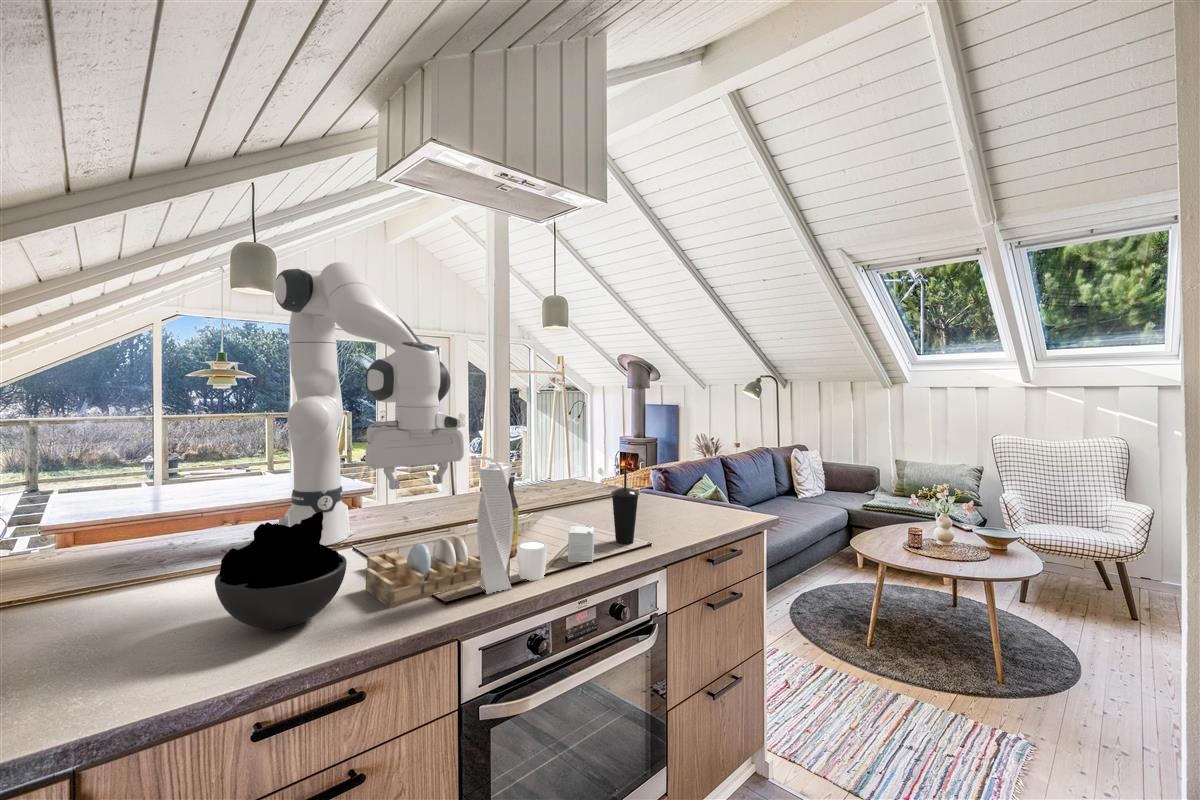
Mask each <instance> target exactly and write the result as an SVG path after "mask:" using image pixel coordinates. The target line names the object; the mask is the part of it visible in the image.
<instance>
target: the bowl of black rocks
mask: <svg viewBox="0 0 1200 800" xmlns="http://www.w3.org/2000/svg"><path fill="white" fill-rule="evenodd" d="M323 519H324V518H323V512H322V511H321V512H318V513H315V514H313V515H312V517H309V518H307V519H304V520H301V523H300V524H294V525H293V526H291V527H289V526H285V525H279V523H270V522H268V521H267V522H265V523H260V524H259V525H258V526H257V527H256V528H255V529H254V531H253V540H252V541H251V542H249V544H247V545H246V546H242V547H241V548H238V549H236V548H234V547H233V548H230V549H229V550H228V551H227V552H226V554H224V556H223V557H222V559H221V561H220V567H219V568H220V570H219V572H218V574H217V575H216V576H215V578H214V587H215V593H216V595H217V598H218V601H219V602H220V604H221V605H222V607H223V608H224V610H225V611H226V612H227V613H228V614H229V615H231V617H233V618H234V619H236V621H238V622H240V623H242V624H244V625H246V626H249V627H252V628H256V629H261V630H262V629H263V630H280V629H285V628H289V627H293V626H296V625H299V624H301V623H304V622H305V621H308V620H310V619H312V618H313V617H314V616H316V615H317V614H318V613H320V612H321V611H322V610H324V608H326V607H327V606H328V604H330V602H331V601H332V600H334V599H333V598H334V597H335V596H336V595H337V594H338V592H339V590H340V588H341V586H342V584H343V581H344V578H345V574H346V572H347V571H346V570H347V563H348V562H347V558H346V557H345V556H344V555H342V554H340V553H339V552H338V551H337V550H334V549H332V548H331V547H326V546H327V545H325V546H324V545H321V544H320V540H321V535H322V530H323V524H322V521H323Z"/></svg>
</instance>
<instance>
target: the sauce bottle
mask: <svg viewBox="0 0 1200 800" xmlns="http://www.w3.org/2000/svg"><path fill="white" fill-rule="evenodd" d="M515 480H516V479H515V476H514V475H513V474H511V475H510V480H509V484H508V489H509V493H510V497H511V501H512V508H513V521H514V523H513V538H512V546H511V552H510V556H509V558H511V557H515V556H516V555H517V545H518V544H519V505H518V502H517V498H516V496H515V490H514V487H515V485H514V484H515Z"/></svg>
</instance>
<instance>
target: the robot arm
mask: <svg viewBox="0 0 1200 800" xmlns="http://www.w3.org/2000/svg"><path fill="white" fill-rule="evenodd" d="M274 296H275V299H276V302H277V303H278V304H277V305H279V306H280V308H282V310H286V311H288V312H291V314H290V321H289V329H288V330H289V334H288V335H289V337H288V339H289V341H288V342H289V356H290V357H289V359H290V374H291V377H292V381H293V384H294V390H295V393H296V398H297V401H295V402H294V403H293V404H292V405H291V407H290V409H289V411H288V413H287V424H288V425H287V426H288V428H289V429H288V430H289V439H290V445H291V450H292V457H293V484H294V485H293V489H292V492H291V499H290V500H291V501H290V502H291V504H290V507H289V508H288V510H287V511H285V513H284V516H283V517H281V516H280V517H278V524H279V525H285V526H289V527H291V526H293V525H294V524H300V523H301V520H304V519H307V518H309V517H312V515H313V514H315V513H318V512H321V511H322V512H323V518H324V519H323V521H322V524H323V530H322V535H321V540H320V544H321V545H324V546H329V545H334V544H338V543H340V542H343V541H344V540H347V538H349V537H350V536H352V535H354V534H356V532H355V529H353V528H350V520H349V519H350V516H349V506H348V505H347V504H346V503H344V502H343V501H342V500H343V496H344V495H343V494H344V491H343V486H342V484H341V455H340V448H339V447H340V446H339V439H338V428H339V427H340V426H341V425H342V423H343V419H344V405H343V397H342V390H341V389H342V388H341V384H340V377H339V366H338V365H339V363H338V350H337V349H338V347H337V345H338V344H337V335H336V325H337V326H338V327H339V328H340V329H341V330H343V331H344V332H346V333H347V334H349V335H351V336H355V337H359V338H362V339H367V340H370V341H374V342H378V343H380V344H383V345H386V347H387V346H388V347H390V348H391V349H392V350H394V352H392V353H390V354H389V355H388V356H385V357H383V358H379V359H376V360H374V361H373V362H372V363H371V364H370V365H369V367H368V368H367V370H366V373H365V388H366V390H367V393H368V394H369V395H370V396H371V398H373V399H374V400H375V401H376V402H382V403H395V404H394V407H395V408H394V420H386V421H381V420H380V421H379V420H378V421H374V422H373V423H371V424H370V425H368V427H367V428H366V431H365V433H366V435H365V438H366V448H365V459H364V462H365V464H366V466H367V467H369V469H374V470H378V469H379V470H380V469H383V473H384V475H385V477H386V478H387V480H388V488H389V489H390V490H399V489H400V483H401V482H400V480H399V479H397V478H395V476H394V475H393V473H395V472H396V471H395V470H396V469H395V468H398V467H411V466H421V465H432V464H436V465H437V467H438V469H437V471H436V473H435V474H433V475H432V481H431V482H432V484H434V485H440V484H443V479H444V478H443V476H444V475H445V473H446V471H447V469H448V466H449V463H453V462H454V463H455V462H461V460H462V459H463V458H464V455H465V442H464V441H465V440H464V435H463V432H462V430H461V429H460V428H461V427H462V419H461V418H460V417H457V416H453V415H450V414H447V413H445V412H441V411H440V410H441V404H440V402H441V401H442V400H443V399H444V398H445V397H446V396H447V394H448V392H449V390H450V387H451V381H452V380H451V376H450V373H449V371H448V369H447V368H446V366H445V365H444V363H443V362H442V361H440V357H439V352H438V349H437V348H436V347H435V346H433V345H431V344H428V343H424V342H423V343H422V341H421V340H420V339H419V338H418V336H417V335H416V334H415V332H414V331H413V330H412V329H411V328H410V326H409V325H408V324H407V323H406V322H405V321H404V320H403V319H402V318H401V317H400V316H399V315H397V313H394V312H393V311H392V310H391V309H390V308H388V306H387V305H386V304H385V303H384V302H383V301H382V300H381V299H380V298H379V296H377V294H376V292H375V291H374V289H373V287H372V286H371V284H370V283H369V281H368V280H367V279H366V278H365V276H364V275H363V274H362V273H361V272H360V271H359V270H358V269H357V268H356V267H355V266H353V265H352V264H350V263H347V262H344V261H343V262H342V261H337V262H336V261H335V262H332V263H330V264H328V265H326V266H325V267H324V268H323V269H322V270H314V269H313V270H309V269H305V270H303V269H301V268H289V269H288V268H287V269H284V270H282V271H280V272H279V273H278V274H277V276H276V279H275V282H274Z"/></svg>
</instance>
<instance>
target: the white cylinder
mask: <svg viewBox="0 0 1200 800" xmlns="http://www.w3.org/2000/svg"><path fill="white" fill-rule="evenodd" d="M547 553H548V544H547V543H546V542H544V541H538V540H537V541H536V540H533V541H532V540H529V541H523V542H520V543H518V545H517V554H516V555H517V564H518V565H517V566H518V576H520V577H521V578H523V579H527V580H529V581H528V582H530V581H539V580H542V579H544V578H545V576H544V575H546V565H547V556H548V554H547ZM520 577H519V578H520ZM521 578H520V579H521ZM523 579H522V580H523ZM527 580H526V581H527Z"/></svg>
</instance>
